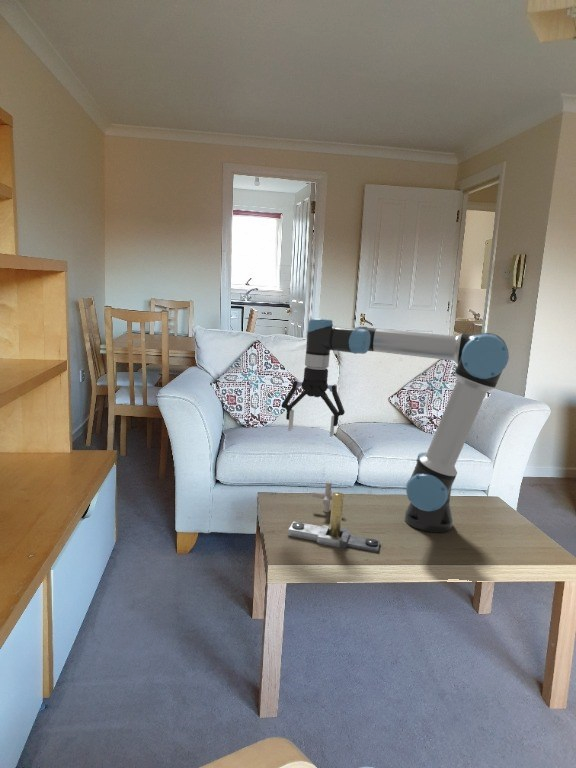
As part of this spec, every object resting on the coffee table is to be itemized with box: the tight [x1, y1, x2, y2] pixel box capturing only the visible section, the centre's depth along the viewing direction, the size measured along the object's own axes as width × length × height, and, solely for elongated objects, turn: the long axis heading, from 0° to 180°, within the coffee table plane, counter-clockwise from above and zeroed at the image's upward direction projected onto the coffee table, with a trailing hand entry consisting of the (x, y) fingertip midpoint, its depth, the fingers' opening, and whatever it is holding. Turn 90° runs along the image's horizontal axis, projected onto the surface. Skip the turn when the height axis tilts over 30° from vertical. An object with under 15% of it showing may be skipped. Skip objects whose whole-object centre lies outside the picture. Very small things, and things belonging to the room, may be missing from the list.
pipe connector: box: [311, 481, 333, 513], centre depth 175 cm, size 10×10×10 cm
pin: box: [328, 491, 344, 538], centre depth 154 cm, size 3×3×14 cm
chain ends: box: [287, 521, 381, 553], centre depth 155 cm, size 26×8×3 cm, turn 75°
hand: (310, 432), depth 170 cm, fingers open, 13 cm apart
